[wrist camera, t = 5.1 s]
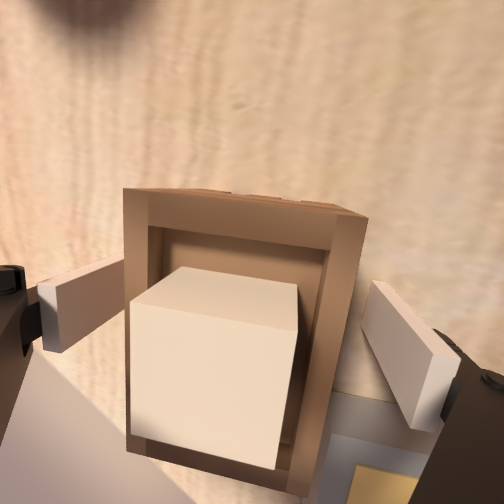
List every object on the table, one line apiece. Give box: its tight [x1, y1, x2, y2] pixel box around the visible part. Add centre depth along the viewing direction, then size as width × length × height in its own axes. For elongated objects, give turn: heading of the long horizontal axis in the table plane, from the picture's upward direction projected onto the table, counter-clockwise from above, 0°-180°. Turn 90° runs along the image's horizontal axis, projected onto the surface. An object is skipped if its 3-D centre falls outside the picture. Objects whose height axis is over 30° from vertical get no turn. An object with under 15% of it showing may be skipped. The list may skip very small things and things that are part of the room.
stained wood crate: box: [123, 188, 369, 498], centre depth 12 cm, size 10×7×7 cm
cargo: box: [130, 266, 298, 470], centre depth 8 cm, size 4×4×3 cm
